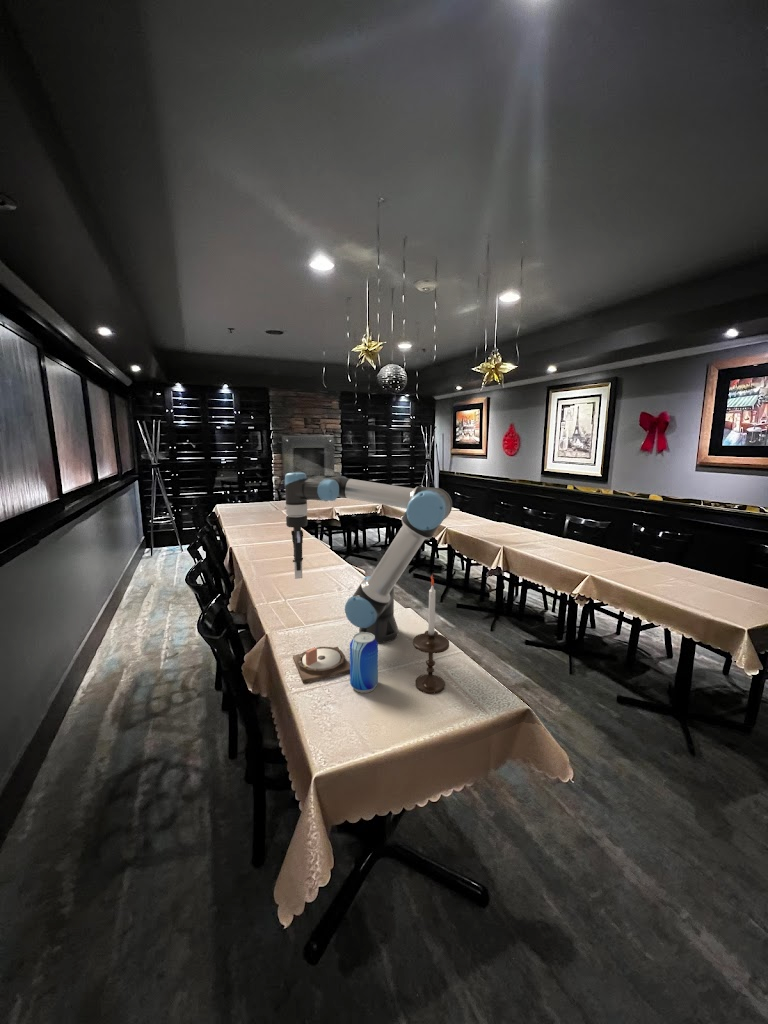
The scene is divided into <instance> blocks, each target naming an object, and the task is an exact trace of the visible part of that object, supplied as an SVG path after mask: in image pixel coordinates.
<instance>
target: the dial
mask: <svg viewBox="0 0 768 1024" xmlns="http://www.w3.org/2000/svg"><path fill="white" fill-rule="evenodd" d="M309 649H310V650H309ZM309 649H307V650H308V651H307V650H306V654H305V655H304V656H303V658H302V664H303V665H304V666H307V667H308V668H310V669H315V668H317V669H325V668H330V667H333V666H335V665H336V664H338V663H340V661H341V657H340V654H339V653H338V652H337V651H335V650H332V649H326V648H322V649H317V647H312V648H309Z"/></svg>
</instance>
